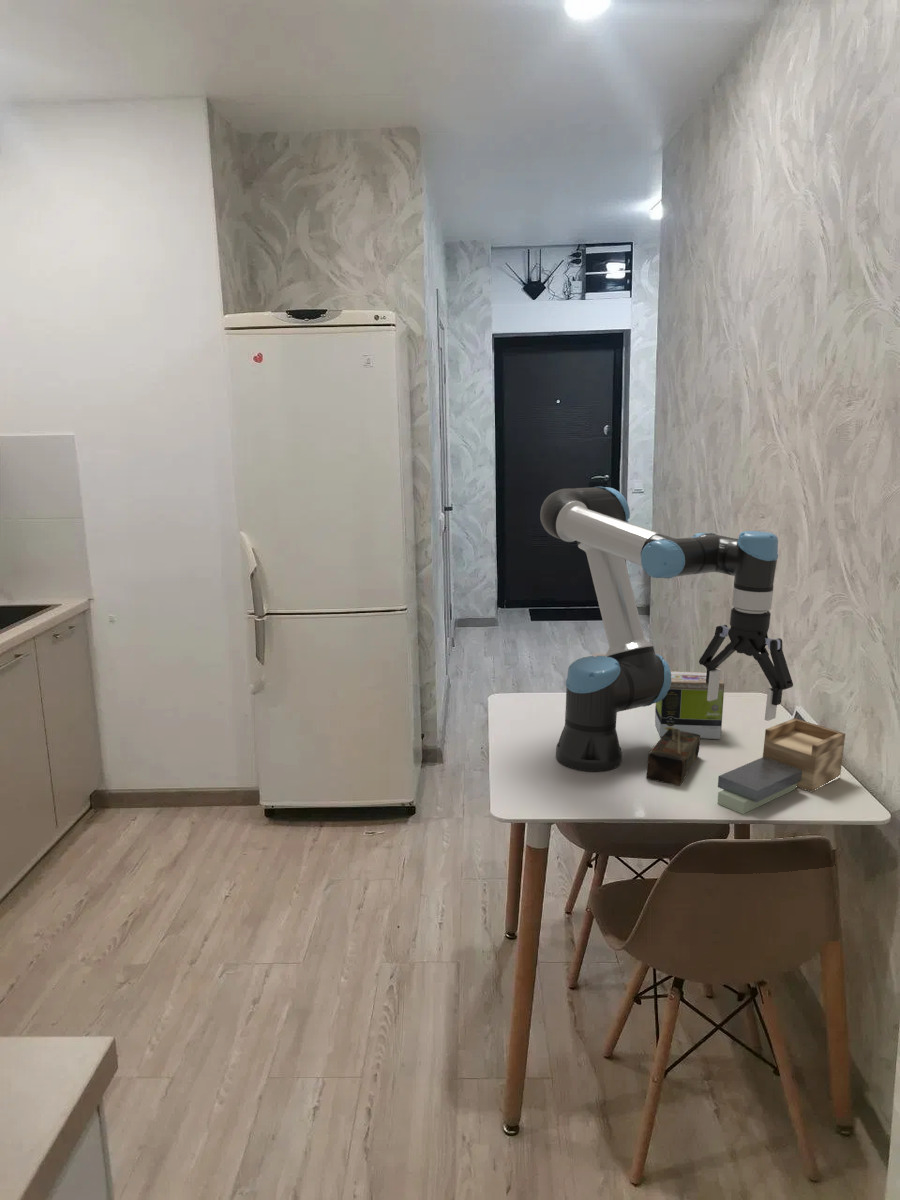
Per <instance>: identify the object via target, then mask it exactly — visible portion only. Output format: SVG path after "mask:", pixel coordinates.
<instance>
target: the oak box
mask: <svg viewBox="0 0 900 1200" xmlns="http://www.w3.org/2000/svg"><path fill="white" fill-rule="evenodd" d="M845 741H846V733H844V732H841V731H838V730H834V729H832V728H828V727H825V726H821V725H818V724H815V723H813V722H812V723H811V722H808V721H805V720H802V719H799V718H795V717H794V718H792V719H788V720H786V721H784V722H782V723H779V724H775V725H774V726H771V727H768V728H766V729H765V731H764V741H763V743H764V744H763V753H762V757H766V758H769V759H772V760H775V761H777V762H780V763H783V764H786V765H789V766H792V767H795V768H797V769H800V770H802V777H801V781H800V782H798V783H797V785H796V786H797V787H796V788H799V787H800V789H802V788H803V789H802V790H804V789H806V790H805V791H807V790H809V791H808V792H810V791H813V790H815V789H817V788H819V787H820V786H822V785H824V784H826V783H828V782H829V781H831V780H833V779H835V778H836V777H838V776H839V775H840V776H841V772H842V763H843V756H844V749H845ZM819 789H820V788H819ZM817 790H818V789H817ZM815 791H816V790H815ZM813 792H814V791H813Z"/></svg>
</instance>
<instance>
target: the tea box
mask: <svg viewBox="0 0 900 1200" xmlns="http://www.w3.org/2000/svg"><path fill="white" fill-rule="evenodd" d="M670 671H671V686H670V689H669V691H668V692H667V695H666V696H665V697H664V698H663V699H662V700H661V701H659V702H657V703H655V711H654V714H655V715H654V723H655V726H656V729H657V731H658V734H659V737H661V738H662V737H663V735H664V734H665V733H666V732H667V731H668V730H669V729H679V730H680V731H684V732H689V733H694V734H698V735H700V739H710V740H721V738H722V729H723V728H722V724H723V712H724V710H723V709H724V698H725V697H724V696H725V683H724V682H723V681H722V678H720V680H719V690H718V699H716V700H713V701H707V694H708V684H707V683H706V674H707V671H678V670H677V671H676V670H675V671H673V670H670Z"/></svg>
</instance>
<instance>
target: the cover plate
mask: <svg viewBox="0 0 900 1200" xmlns="http://www.w3.org/2000/svg"><path fill="white" fill-rule="evenodd" d="M801 777H802V770H800V769H797V768H795V767H792V766H789V765H786V764H783V763H780V762H777V761H775V760H772V759H769V758H766V757H763V756H762V757H759V758H758V759H755V760H753V761H751V762H748V763H746V764H744V765H742V766H739V767H737V768H734V769H732V770H730V771H728V772H727V771H726V772H725V773H722V774H720V775H718V778H717V779H718V781H717V788H719V789H721V790H726V791H729V792H731V793H734V794H736V795H739V796H741V797H744V798H746V799H749V800H751V801H754V802H758V801H761V800H763V799H765V798H767V797H769V796H771V795H773V794H775V793H777V792H779V791H781V790H784V789H786V788H788V787H790V786H792V785H794V784H796V783H798V782H800V781H801Z"/></svg>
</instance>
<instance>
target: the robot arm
mask: <svg viewBox="0 0 900 1200" xmlns="http://www.w3.org/2000/svg"><path fill="white" fill-rule="evenodd" d="M630 511H631V510H630V506H629V504H628V501H627V499H626V498H625V496H624V495H623V494H622V493H621V492H620V491H619V490H617V489H615V488H613V487H606V486H594V487H575V488H573V487H572V488H561V489H557V490H555V491H554V492H552V493H550V494H549V495H548V496H547V497H546V498H545V499H544V501H543V503H542V504H541V507H540V514H539V516H540V517H539V518H540V522H541V525H542V526H543V528H544V531H546V532H547V533H548V535H550V536H552V537H554V538H556V539H559V540H561V541H563V542H568V543H573V542H575V541H576V544H577V547H578V548H579V549H580V550H582V551H584V552H585V555H586V557H587V563H588V566H589V569H590V571H589V572H590V574H591V578H592V584H593V586H594V591H595V594H596V595H595V596H596V597H597V598H596V599H597V602H598V603H597V604H598V606H599V610H600V615H601V619H602V624H603V626H604V631H605V635H606V639H607V643H608V650H607V651H606V653H605V655H596V656H593V655H589V656H585V657H581V658H580V657H579V658H578V659H576V660H574V661H573V662H572V663H570V665H569V666H568V669H567V676H566V680H565V685H566V687H565V689H566V690H565V711H564V712H565V713H564V715H565V716H564V717H565V719H564V725H563V728H562V732H561V734H560V737H559V740H558V741H557V745H556V747H555V758H556V760H557V761H558V762H559V763H560V764H562V765H563V766H566V767H567V768H571V769H574V770H580V771H585V772H602V771H603V772H605V771H610V770H614V769H616V768H617V767H619V766H620V765H621V764H622V761H623V749H622V747H621V746H620V741H619V737H618V733H617V718H618V717H617V715H618V713H619V712H623V711H628V710H633V709H638V708H641V707H642V708H643V707H649V706H651V705H653V704H656V703H657V702H659V701H661V700H662V699H663V698H664V697H665V696H666V695H667V692H668V691H669V689H670V686H671V671H672V670H671V668H670V666H669V663H668V661H667V660H665V659H664V657H663V656H662V655H660V654H657V653H656V651H655V648H654V644H652V643H651V642H649V641H647V639H646V637H645V635H644V630H643V626H642V623H641V619H640V614H639V611H638V606H637V603H636V598H635V594H634V591H633V586H632V581H631V580H630V574H629V571H628V568H627V563H626V561H627V562H628V561H629V562H631V563H634V564H636V565H639V566H640V567H642V569H643V571H645V573H646V574H647V575H648V576H649V577H651V578H654V579H671V578H676V577H682V576H689V575H691V576H692V575H699V574H707V573H719V574H725V575H727V576H728V575H729V576H731V577H734V579H733V588H732V589H733V590H732V598H731V605H732V607H733V608H731V610H730V616H729V625H730V627H728V625H727V624H722V625H717V626H716V627H715V631H714V635H713V637H712V639H711V641H710V642H709V644H708V646H706V648H705V650H704V652H703V653H702V655H701V656H700V659H699V660H698V663H699V665H702V666H704V667H705V668H706V672H707V674H706V683H707V684H708V694H707V701H713V700H716V699H718V690H719V680H720V679H721V669H720V668H719V667H720V665H722V664H723V663H724V662H725V661H726V660H727V659H728V658H729V657H730V656H731V655H732V654H733V653H735V652H736V653H737V654H744V655H745V656H748V657H753V659H754V660H755V661H757V664H758V665H759V666H760V669H761V670H762V672H763V674H764V676H765V678H766V679H767V681H768V683H769V685H770V688H767V694H766V695H767V696H766V705H765V713H764V721H768V722H769V721H772V720H775V719H776V716H777V707H778V706H779V705H781V703H782V697H783V690H787V689H791V688H793V687H794V682H793V680H792V676H791V673H790V670H789V668H788V663H787V661H786V658H785V655H784V651H783V639H782V638H769V636H768V632H769V629H770V625H771V623H770V622H771V614H772V613H771V612H770V610H772V605H773V604H772V602H773V595H774V583H775V574H776V570H777V563H778V558H779V554H778V551H779V550H778V549H779V539H778V536H777V535H776V534H775V533H773V532H769V531H760V530H759V531H758V530H744V531H741V532H740V533H739V535H738V538H735V537H731V536H724V535H720V534H716V533H714V532H710V533H709V532H697V533H695V534H694V535H692V536H691V537H681V538H676V537H672V536H668V535H664V534H662V533H660V532H656V531H654V530H650V529H648V528H644V527H642V526H639V525H636V524H633V523H631V522H629V519H630V518H631V516H630V515H631V513H630ZM726 637H728V638H729V640H730V642H728V643H727V645H726V646H725V647H724V649H722V650H721V651H720V652H719V653H718V654H717V652H718V650H719V649H720V648H721V646H722V643H724V641H725V639H726ZM766 646H767V648H766ZM767 649H768V650H769V652H768V650H767ZM769 653H770V654H769ZM715 655H716V656H715ZM771 659H772V660H771Z"/></svg>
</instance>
